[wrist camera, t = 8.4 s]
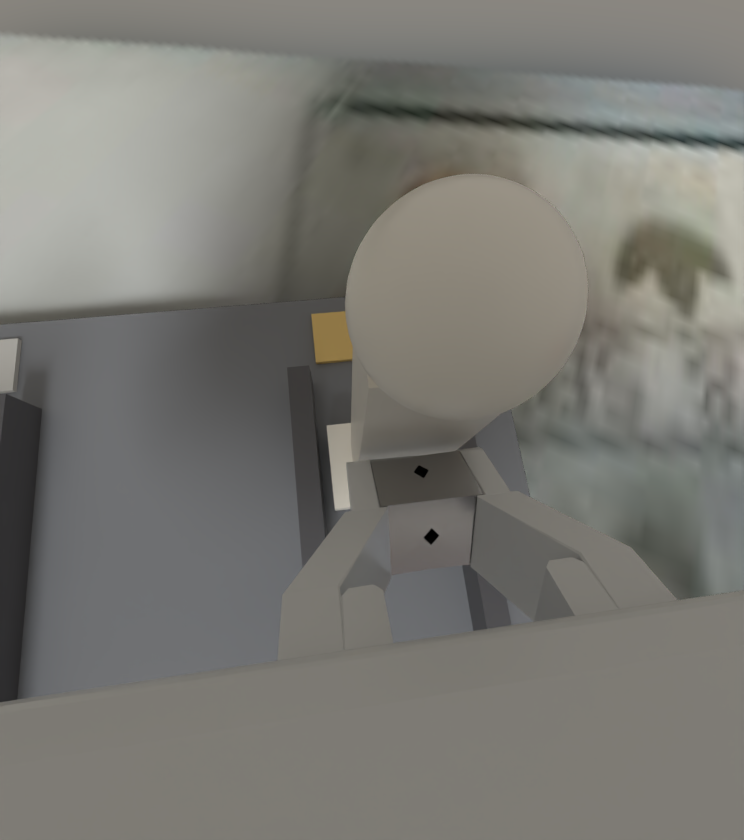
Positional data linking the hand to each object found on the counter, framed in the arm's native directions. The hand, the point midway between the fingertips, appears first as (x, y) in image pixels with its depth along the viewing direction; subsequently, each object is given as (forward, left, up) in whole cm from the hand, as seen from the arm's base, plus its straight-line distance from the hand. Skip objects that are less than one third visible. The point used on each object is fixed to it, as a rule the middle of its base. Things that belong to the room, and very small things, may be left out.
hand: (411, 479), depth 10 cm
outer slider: (0, +1, -6) cm, 7 cm away
